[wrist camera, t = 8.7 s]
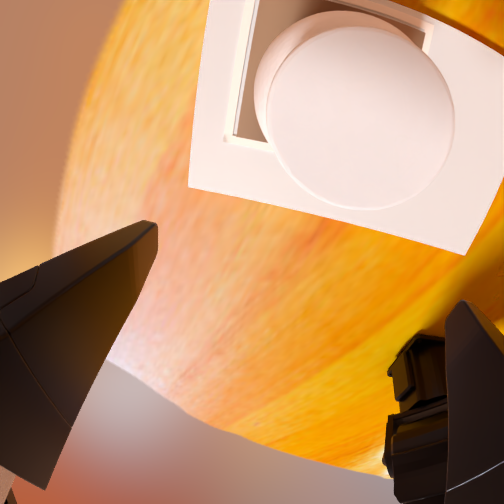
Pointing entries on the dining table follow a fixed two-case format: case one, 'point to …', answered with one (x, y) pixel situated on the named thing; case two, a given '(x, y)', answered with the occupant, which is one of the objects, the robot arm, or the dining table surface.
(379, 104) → the supplement bottle
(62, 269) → the robot arm
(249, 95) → the grey plinth
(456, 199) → the white flat board
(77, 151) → the dining table surface
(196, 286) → the dining table surface
